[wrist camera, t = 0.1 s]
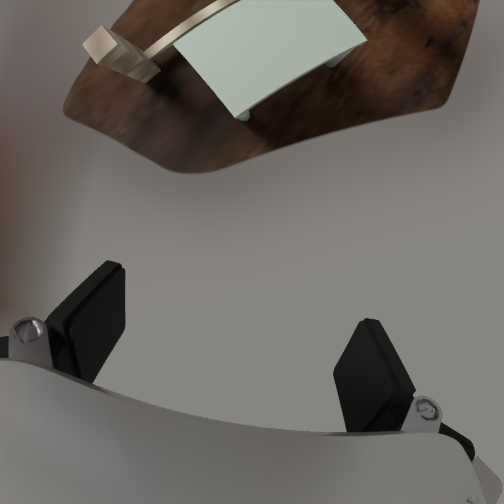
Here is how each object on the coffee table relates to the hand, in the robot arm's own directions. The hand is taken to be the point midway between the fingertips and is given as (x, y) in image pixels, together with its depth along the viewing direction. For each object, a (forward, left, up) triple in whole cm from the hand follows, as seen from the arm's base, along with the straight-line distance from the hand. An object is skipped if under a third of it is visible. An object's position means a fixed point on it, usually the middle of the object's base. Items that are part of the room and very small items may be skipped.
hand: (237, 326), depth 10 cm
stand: (-12, -14, -31) cm, 36 cm away
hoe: (-7, -25, -31) cm, 41 cm away
